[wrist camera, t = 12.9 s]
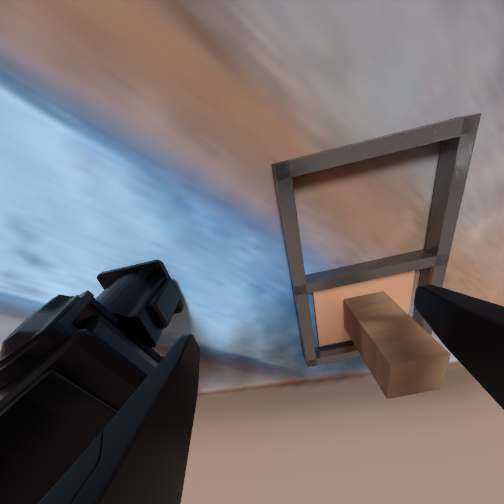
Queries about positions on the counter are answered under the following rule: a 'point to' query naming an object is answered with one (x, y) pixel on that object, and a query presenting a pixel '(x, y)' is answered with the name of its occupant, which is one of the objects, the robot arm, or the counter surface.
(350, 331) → the walnut peg
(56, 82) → the counter surface
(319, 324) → the rail
